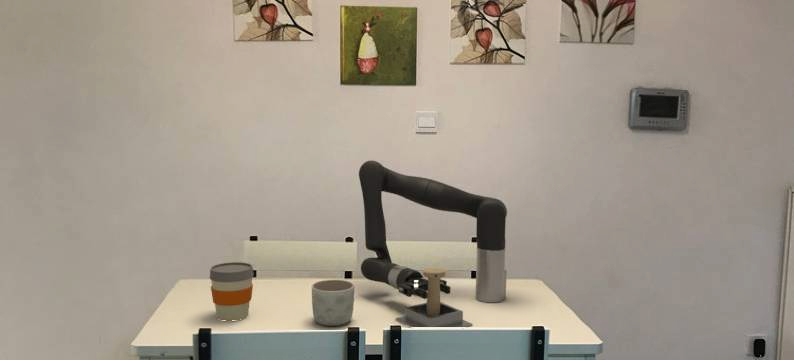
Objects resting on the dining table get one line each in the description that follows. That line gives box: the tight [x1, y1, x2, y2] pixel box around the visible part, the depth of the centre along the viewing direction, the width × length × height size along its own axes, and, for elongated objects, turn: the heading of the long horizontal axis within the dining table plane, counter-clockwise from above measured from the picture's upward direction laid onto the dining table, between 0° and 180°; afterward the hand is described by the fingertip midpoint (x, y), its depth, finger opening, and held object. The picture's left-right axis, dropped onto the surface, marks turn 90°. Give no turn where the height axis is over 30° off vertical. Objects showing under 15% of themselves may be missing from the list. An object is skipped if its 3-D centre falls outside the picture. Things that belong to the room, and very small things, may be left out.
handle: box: [422, 268, 446, 317], centre depth 171 cm, size 5×6×15 cm
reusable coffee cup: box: [209, 261, 254, 322], centre depth 174 cm, size 13×13×15 cm
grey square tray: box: [395, 301, 473, 328], centre depth 171 cm, size 16×16×4 cm
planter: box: [311, 279, 355, 327], centre depth 171 cm, size 12×12×11 cm
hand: (438, 292), depth 169 cm, fingers open, 8 cm apart
